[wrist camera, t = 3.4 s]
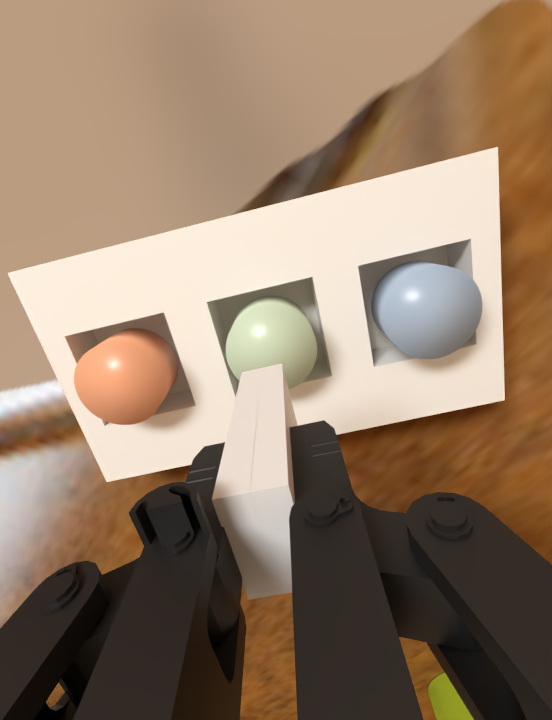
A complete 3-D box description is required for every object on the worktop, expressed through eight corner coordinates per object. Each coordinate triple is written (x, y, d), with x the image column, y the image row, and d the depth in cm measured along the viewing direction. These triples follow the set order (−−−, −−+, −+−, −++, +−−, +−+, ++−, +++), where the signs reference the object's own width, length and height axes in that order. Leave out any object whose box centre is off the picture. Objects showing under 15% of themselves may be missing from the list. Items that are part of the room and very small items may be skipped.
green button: (243, 378, 23) (239, 401, 20) (222, 306, 21) (214, 318, 18) (318, 362, 23) (324, 382, 20) (302, 286, 21) (306, 296, 18)
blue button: (377, 349, 22) (393, 367, 19) (365, 271, 21) (380, 279, 18) (455, 331, 22) (484, 347, 19) (450, 251, 20) (480, 255, 17)
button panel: (129, 448, 28) (106, 481, 24) (50, 266, 23) (7, 273, 20) (471, 375, 26) (504, 400, 22) (458, 161, 21) (497, 146, 18)
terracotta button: (118, 406, 24) (95, 432, 21) (88, 337, 22) (59, 354, 19) (188, 391, 23) (175, 415, 20) (163, 320, 22) (145, 334, 19)
